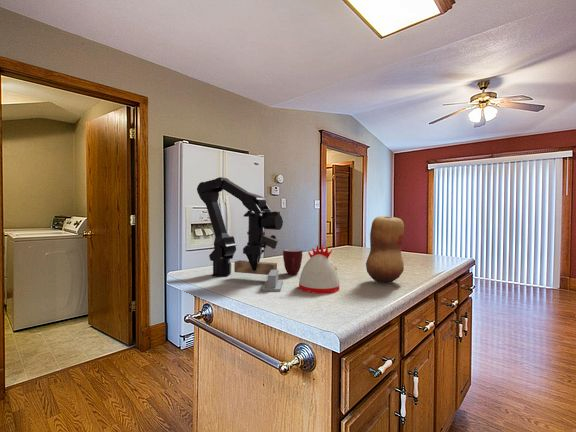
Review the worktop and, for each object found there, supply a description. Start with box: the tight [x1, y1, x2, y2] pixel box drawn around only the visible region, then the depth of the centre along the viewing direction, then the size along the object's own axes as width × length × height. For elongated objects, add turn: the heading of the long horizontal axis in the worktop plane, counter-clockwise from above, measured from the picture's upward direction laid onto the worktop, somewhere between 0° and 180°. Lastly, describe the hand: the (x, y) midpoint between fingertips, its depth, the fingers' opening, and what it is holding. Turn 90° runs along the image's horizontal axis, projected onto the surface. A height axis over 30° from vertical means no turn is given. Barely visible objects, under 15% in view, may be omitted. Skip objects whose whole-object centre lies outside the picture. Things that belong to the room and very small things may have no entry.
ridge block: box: [261, 269, 284, 292], centre depth 108 cm, size 6×12×5 cm, turn 177°
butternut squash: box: [365, 215, 405, 284], centre depth 116 cm, size 14×13×25 cm
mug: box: [282, 248, 303, 276], centre depth 128 cm, size 11×8×10 cm
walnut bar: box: [233, 260, 278, 276], centre depth 118 cm, size 16×4×4 cm, turn 73°
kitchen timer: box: [298, 244, 340, 295], centre depth 107 cm, size 14×14×15 cm
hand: (255, 269), depth 118 cm, fingers closed on walnut bar, 4 cm apart
